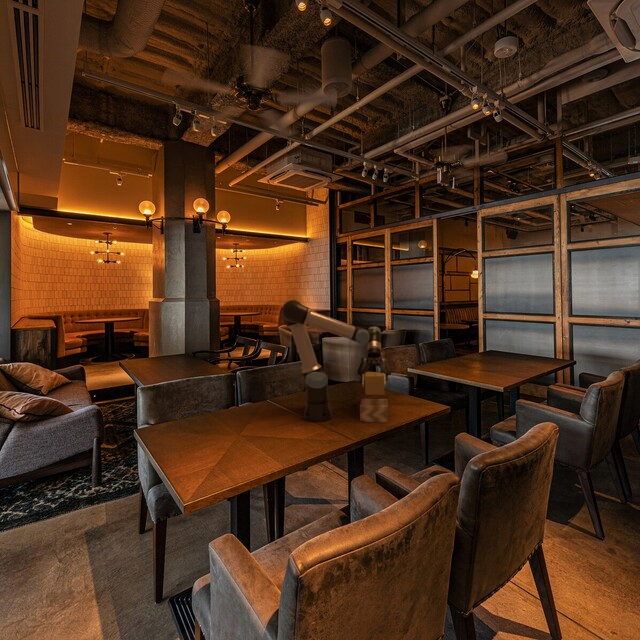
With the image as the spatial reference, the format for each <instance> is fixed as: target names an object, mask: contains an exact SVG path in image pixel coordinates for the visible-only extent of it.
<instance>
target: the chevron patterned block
mask: <svg viewBox="0 0 640 640" xmlns="http://www.w3.org/2000/svg"><path fill="white" fill-rule="evenodd" d="M388 400H389V399H387V398H361V401H360V404H359V422H360V421H364V423H389V401H388Z"/></svg>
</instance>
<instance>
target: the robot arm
mask: <svg viewBox="0 0 640 640" xmlns="http://www.w3.org/2000/svg"><path fill="white" fill-rule="evenodd" d="M281 316H282V317H283V318H284V321H285V326H286V327H287V328H289V329H290V331H291V335H292V337H293V341H294V344H295V347H296V350H297V353H298V355H299V359H300V362H301V365H302V370H301V375H302V376H303V380H304V383H305V392H306V405H305V408H304V413H303V419H304V418H305V419H306V421H308V420H309V421H308V422H313V421H316V422H327V421H329V420H331V419H333V412H332V408H331V406H330V403H329V387H328V386H329V383H328V382H329V379H328V374H326V373H325V372H324V371H323V367H322V365H321V364H319V363H318V359H317V357H316V354H315V351H314V348H313V345H312V342H311V338H310V335H309V332H308V328H307V326H306V325H308V326H310V327H314V328H316V329H319V330H323V331H325V332H326V333H327V332H328V333H331V334H334V335H336V336H339V337H341V338H345V339H348V340H350V341H353V342H356V343H357V344H360V345H366V344H367V353H366V354H367V357H366V358H364V357H361V362H360V364H359V366H358V369H357V375H358V376H360V379H359V380H360V381H361V383H362V385H361V386H362V388H364V387H365V380H364V373H365V372H368V370H369V369H370V368H371V367H378V368H379V369H380V370H381V371H382V373H383V374H384V388H386V387H387V385H386V384H387V381H389V377H388V376H391V375H392V370H391V368H390V365H389V362H388V357H384V358H383V357H382V331H381V328H380V327H378V326H370V327H369V328H368V329H367V328H362V327H358V326H354V325H352V324H350V323H347V322H343V321H341V320H338V319H335V318H333V317H329V316H327V315H324V314H323V313H322V314H321V313H319V312H317V311H313V310H311V308H310V307H307V306H306V305H303V304H302V303H301V302H300V301H299V300H296V299H290V300H286V302H285V303H283V305H282V308H281ZM366 362H367V363H366ZM382 362H383V364H384V366H383V364H382ZM365 363H366V365H365V366H364V364H365ZM305 419H304V420H305ZM316 422H315V423H316Z"/></svg>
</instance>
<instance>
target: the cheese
mask: <svg viewBox="0 0 640 640" xmlns="http://www.w3.org/2000/svg"><path fill="white" fill-rule="evenodd" d="M364 387H365V388H364V392H365V395H366V396H367V395H369V396H370V395H371V396H372V395H373V396H374V395H377V396H378V395H385V387H384V373H383V372H382V373H381V372H379V371H378V372H376V371H366V372H365V373H364Z"/></svg>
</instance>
